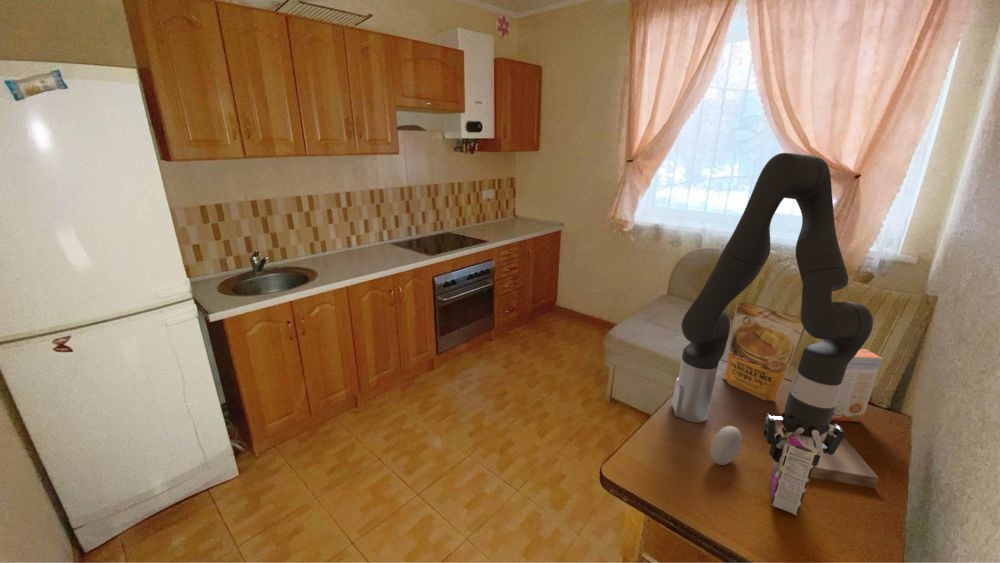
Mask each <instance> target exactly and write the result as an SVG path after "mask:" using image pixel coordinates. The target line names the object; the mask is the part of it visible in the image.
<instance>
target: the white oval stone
mask: <svg viewBox="0 0 1000 563" xmlns="http://www.w3.org/2000/svg"><path fill="white" fill-rule="evenodd" d="M742 440H743V436H742V433H741V431H740V430H739V429H738V428H737V427H735V426H734V425H733V426H732V425H727V426H724V427H722V428H721V429H719V430H718V432H717V433H716V434H715V435H714V437H713V439H712V440H711V444H710V449H709V454H710V458H711V460H712V461H713V462H714V463H715V464H717V465H727V464H729V463H731V462H732V461H733V460H734V459H735V458H736V456H737V455H738V453H739V451H740V449H741V446H742V442H743V441H742Z"/></svg>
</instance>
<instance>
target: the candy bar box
mask: <svg viewBox="0 0 1000 563" xmlns="http://www.w3.org/2000/svg"><path fill="white" fill-rule="evenodd" d="M788 434H789V433H788V432H787V430H786V436H787V435H788ZM782 448H783V450H782V454H781V457H780V461H779V462H775V461H774V460H773V462H772V466H771V469H770V497H771V500H770V501H771V502H770V504H771V506H772V507H775V508H776V509H779V510H782V511H784V512H788V513H790V514H792V515H795V516H798V514H799V513H800V508H801V506H802V504H803V503H802V502H803V499H804V496H805V493H806V490H807V487H808V483H809V482H810V478H811V477H810V475H811V472H812V468H813V465H814V462H815V459H816V456H817V448H816V442H815V440H814V439H813V438H812V437H808V436H802V435H798V436H797V437H796V436H789V435H788V437H787V440H786V441H785V444H784V447H782Z"/></svg>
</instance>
